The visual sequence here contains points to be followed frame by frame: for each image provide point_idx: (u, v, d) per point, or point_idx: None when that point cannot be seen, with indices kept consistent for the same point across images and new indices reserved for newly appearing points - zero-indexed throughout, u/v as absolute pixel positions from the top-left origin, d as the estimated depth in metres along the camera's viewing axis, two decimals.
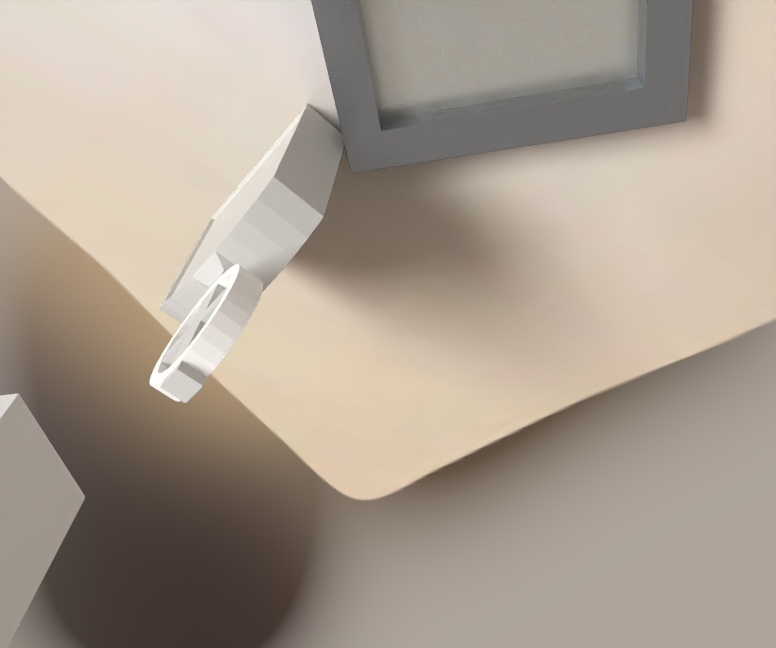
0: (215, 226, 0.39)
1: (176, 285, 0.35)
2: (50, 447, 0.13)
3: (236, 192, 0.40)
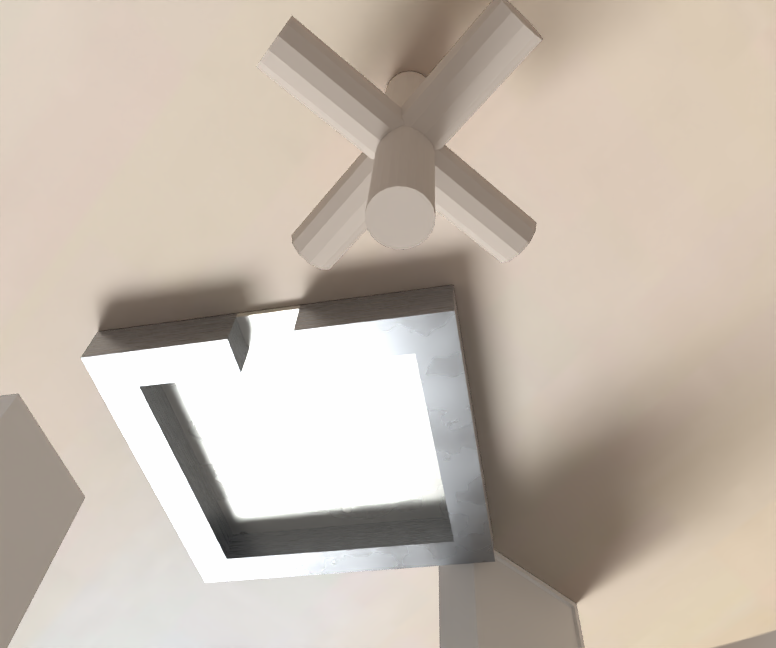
0: None
1: None
2: (50, 447, 0.13)
3: None
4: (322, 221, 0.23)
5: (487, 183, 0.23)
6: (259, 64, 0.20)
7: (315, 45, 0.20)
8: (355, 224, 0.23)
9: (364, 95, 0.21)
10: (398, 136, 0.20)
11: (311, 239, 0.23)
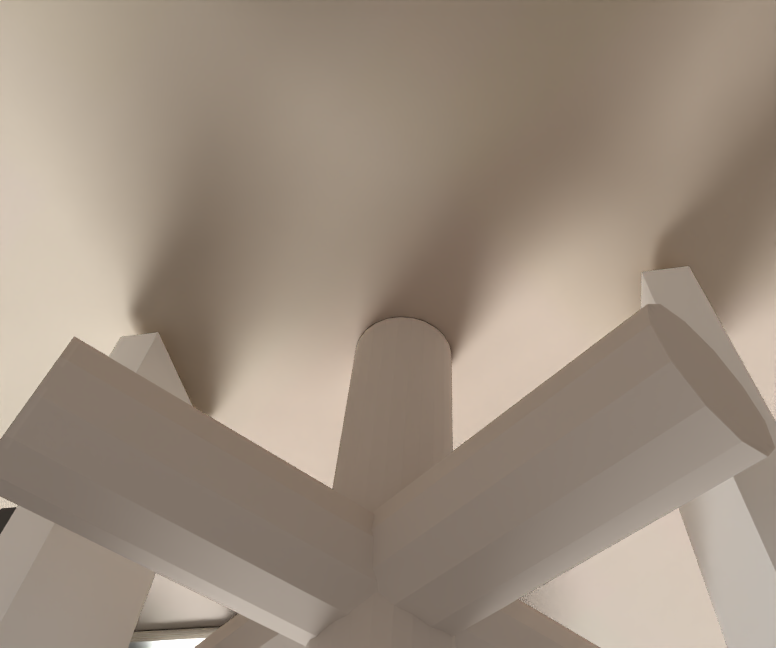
0: None
1: None
2: (181, 386, 0.14)
3: None
4: None
5: None
6: None
7: (128, 436, 0.07)
8: None
9: (271, 541, 0.08)
10: None
11: None
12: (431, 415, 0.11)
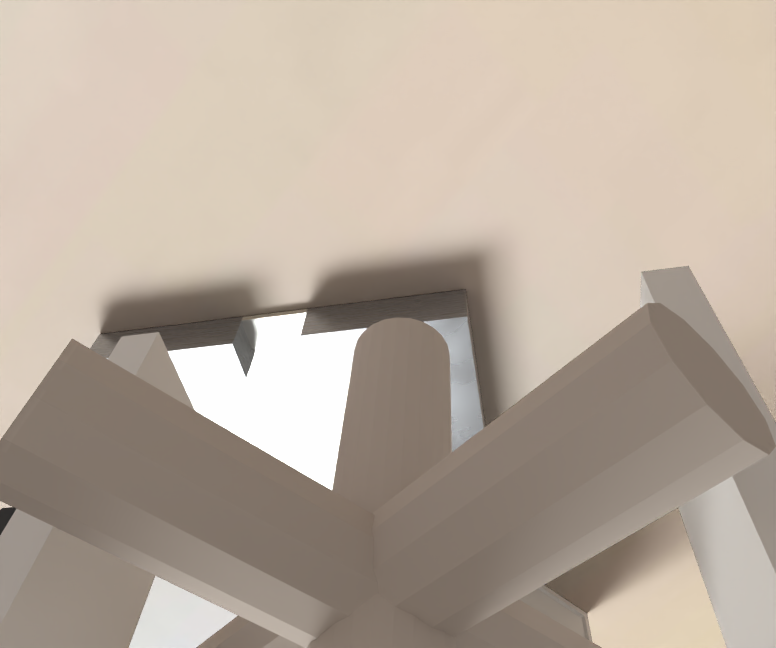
0: None
1: None
2: (181, 386, 0.14)
3: None
4: None
5: None
6: None
7: (126, 437, 0.07)
8: None
9: (272, 543, 0.08)
10: None
11: None
12: (431, 415, 0.11)
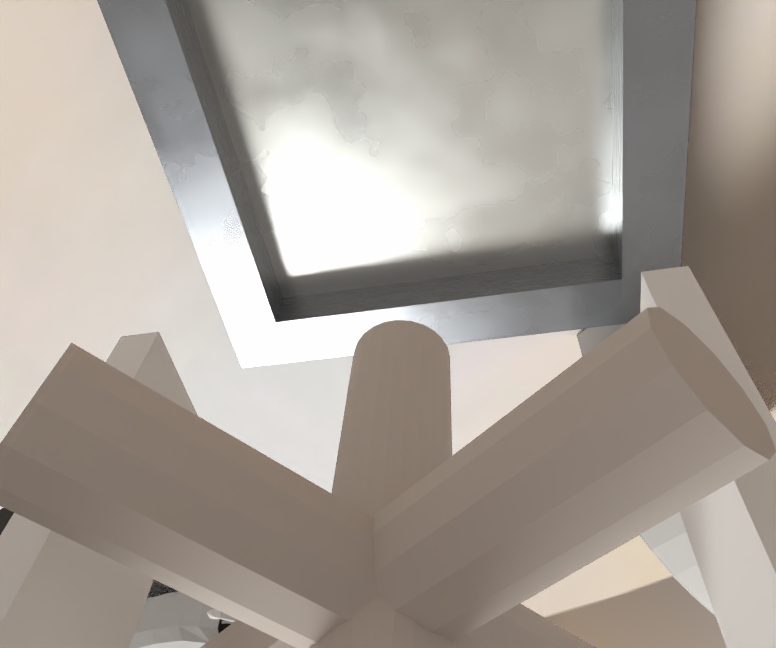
0: None
1: None
2: (181, 386, 0.14)
3: None
4: None
5: None
6: None
7: (126, 442, 0.07)
8: None
9: (272, 548, 0.08)
10: None
11: None
12: (430, 418, 0.11)
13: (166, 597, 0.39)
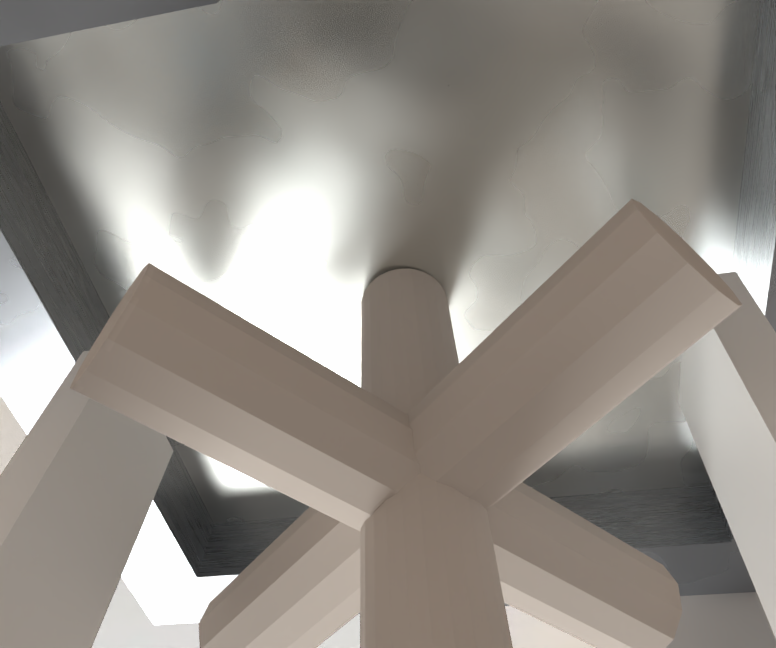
0: None
1: None
2: None
3: None
4: (255, 624, 0.11)
5: (589, 538, 0.11)
6: (74, 389, 0.08)
7: (207, 339, 0.08)
8: (324, 631, 0.11)
9: (330, 430, 0.09)
10: (415, 528, 0.09)
11: None
12: (441, 343, 0.12)
13: None
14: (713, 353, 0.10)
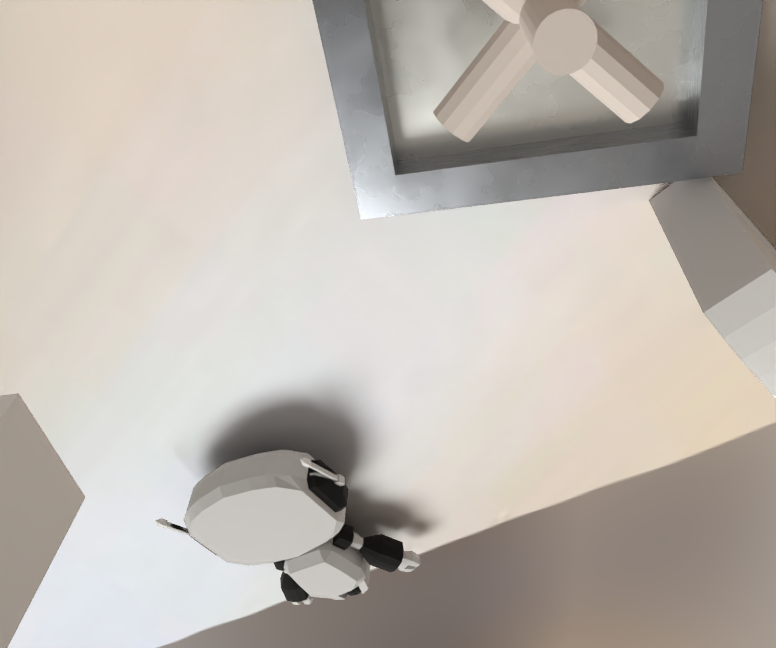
0: None
1: None
2: (50, 447, 0.13)
3: None
4: (465, 90, 0.25)
5: (618, 44, 0.25)
6: None
7: None
8: (497, 90, 0.25)
9: None
10: None
11: (455, 109, 0.26)
12: None
13: (260, 454, 0.44)
14: None
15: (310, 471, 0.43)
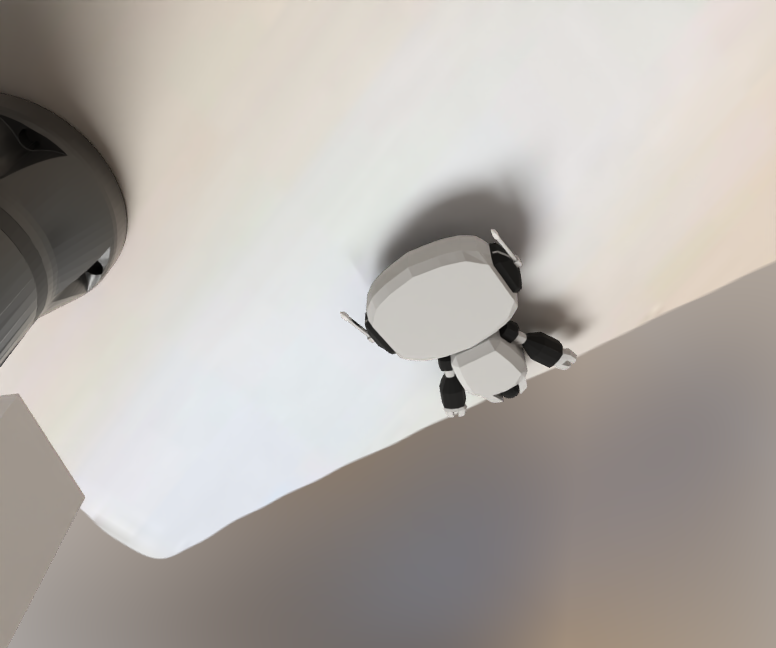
0: None
1: None
2: (50, 447, 0.13)
3: None
4: None
5: None
6: None
7: None
8: None
9: None
10: None
11: None
12: None
13: (442, 239, 0.47)
14: None
15: (492, 250, 0.46)
